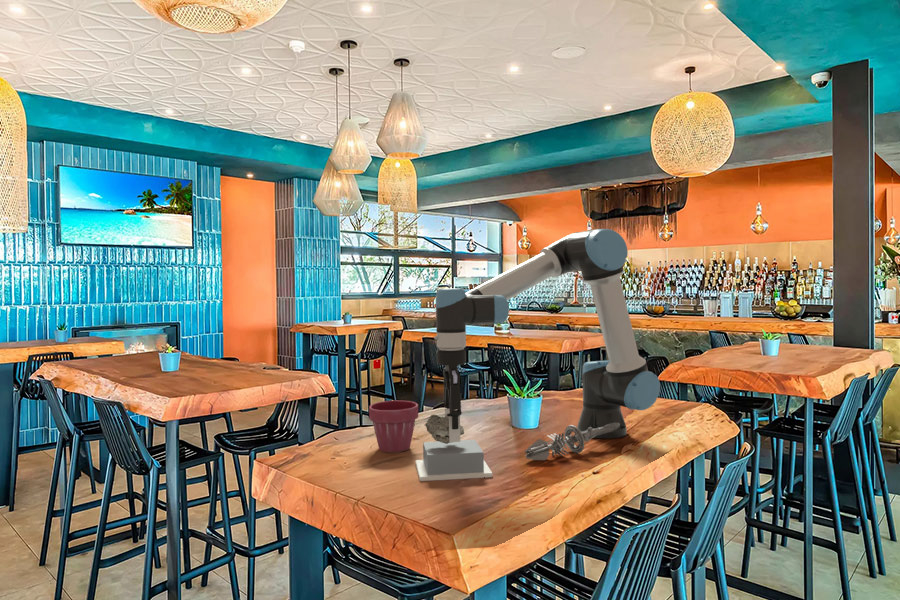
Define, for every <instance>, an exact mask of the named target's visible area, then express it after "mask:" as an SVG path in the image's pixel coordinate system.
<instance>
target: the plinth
mask: <svg viewBox="0 0 900 600" xmlns="http://www.w3.org/2000/svg"><path fill="white" fill-rule="evenodd" d="M422 448H423V449H422V455H423V456H422V459H415V467H416V471H417V475H418V479H419V481H420V482H428V481H447V480H464V479H481V478H484V477H485V478H493V476H494V475H493V472H492V470H491V469H490V466H488V464H487V462H486V461H485V459H484V457H485V456H484V454H485V453H484V451H483V450H482V448H481V446H480V445H479V443H478V442H477V441H476V439H462V440H461V439H460V442H451V443H448V444H445V443H442V442H439V441H424V442H422Z"/></svg>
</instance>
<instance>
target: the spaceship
mask: <svg viewBox="0 0 900 600" xmlns="http://www.w3.org/2000/svg"><path fill="white" fill-rule="evenodd" d="M619 426H620V423H618V422H614V423H610V424H607V425H605V426H603V427H599V428H592V427H589V428H588V430H586V431H582V432H581V431H580V430H579V429H578V426H576V425H572V424H569V425H568V426H566V428H565V430H564V432H562V433H560V434H557V433H555V432H554V433H553V434H550V435H548V434H547V435H546V436H547V437H548V438H550V439H551V440H548V441H546V440H543V439H542V438H541V439H540V438H538V439H537V440H536V441H534V442H533V443H532V444H530V445H529V446H528V447H527V448H526V449H525V450H524V453H525V455H524V457H525V459H526V460H532V461H547V459H548V458H549V456H550V451H549V450H551V456H554V455H556V456H557V455H559V456H560V457H563V455H564V456H566V455H568V454H569V452H568V451H567V450H565V449H568V448H569V450H570V451H571V452H573V453H574V454H581V453H582V452H583V450H584V449H585V443H587V442H590V440H592V439H593V437H595V436H597V435H601V434H605V433H608V432H612V431H614V430H616V429H617V428H618V427H619Z"/></svg>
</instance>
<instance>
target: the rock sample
mask: <svg viewBox="0 0 900 600" xmlns="http://www.w3.org/2000/svg"><path fill="white" fill-rule="evenodd" d="M424 426H425V428H426V431H427V432H428V434H431V437H432V439H434V440H435V442H437V441H439V442H442V443H445V444H448V443H451V442H450V441H449V418H448V417H445V416H439V414H438V415H437V414H431V415H430V416H429V417H428V418H427V420H426V423H425V424H424ZM464 434H465V430H464V427H463V426H462V425H461V424H460V437H461V436H462V435H464Z"/></svg>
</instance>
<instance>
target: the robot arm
mask: <svg viewBox="0 0 900 600" xmlns="http://www.w3.org/2000/svg"><path fill="white" fill-rule="evenodd" d="M628 253H629V252H628V246H627V243H626V241H625V239H624V238H623V236H622V235H621V234H620V233H619V232H617V231H615V230H614V229H610V228H596V229H591V230H583V231H577V232H573V233H570V234H568V235H566V236H564V237H562V238H560V239H558V240H556V241H555V242H552V243H551V244H549V245H548V246H546V247H544V248H541V250H540V252H539V254H537V255H535V256H533V257H532V258H529V259H527V260H526V261H524V262H522V263H520V264H518V265H516V266H515V267H512V268H511V269H508V270H507V271H505V272H502V273H501V274H498V275H497V276H495V277H493V278H491V279H489V280H487V281H485V282H484V283H481V284H479V285H478V286H476V287H474V288H472V289H470V290H468V291H466V290H465V289H464V288H459V287H458V288H457V287H455V288H439V289H438V290H437V291H436V295H435V321H436V335H435V336H433V337H434V340H436V347H437V348H438V349H437V350H436V364H438V365H440V366H445V367H443V370H442V377H443V405H444V406H443V407H444V417H448V418H449V441H450V442H460V440H461V436H460V425H461V416H462V414H463V413H462V396H461V394H462V393H461V377H462V376H461V371H459V369H458V366H461V365H465V364H466V363H467V350H466V349H465V348H466V347H467V331H466V330H467V329H466V327H467V326H468V325H484V324H485V325H487V324H489V325H490V324H491V325H492V324H493V325H496V324H502V323H504V322H506V321H507V319H508V316H509V313H510V307H509V303H508V301H509V300H511V299H512V298H515V297H516V296H517V295H519V294H522V293H523V292H525V291H527V290H529V289H531V288H533V287H535V286H537V285H539V284H540V283H542V282H543V281H546V280H547V279H549V278H551V277H552V278H558V277H560V276H562V275H565V274H568V273H572V272H573V273H574V272H580V273H581V276H582V280H583V282H584V283H586V284H588V285H589V286H590V290H591V294H592V297H593V302H594V307H595V310H596V314H597V318H598V322H599V326H600V330H601V334H602V338H603V342H604V346H605V351H606V354H607V357H608V360H595V361H593V360H592V361H586V362H584V364H583V366H582V373H581V375H582V410H581V413H580V415H579V416H580V417H579V420H578V422H577V428H578V429H579V430H580V431H581V432H582V431H586V430H588V428H589V427H592V428H599V427H603V426H605V425H607V424H610V423H614V422H618V423H620V426H619V427H618V428H617V429H616V430H614V431H612V432H608V433H605V434H601V435H597V436H595V437H593V438H594V439H604V440H605V439H611V440H612V439H619V438H623V437H625V436H627V424H626V422H625V419H624V415H623V413H622V408H621V407H624V408H627V409H629V410H634V411H635V410H636V411H646V410H647V409H648V410H649V408H651V407H652V406H653V405H654V404H655V403H656V401H657V399H658V397H659V394H660V392H661V383H660V379H659V377H658V376H657V374H655V373H653V372H652V371H649V369H648V365H647V361H646V359H645V358H644V357H642V356H641V355H640V354H639V350H638V347H637V342H636V338H635V335H634V331H633V326H632V322H631V318H630V315H629V309H628V306H627V302H626V298H625V297H626V296H625V293H624V289H623V286H622V281H621V276H622V275H623V273H624V272H625V270H624V265H625V264H626V262H627V257H628V255H629V254H628ZM593 438H592V439H593Z"/></svg>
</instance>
